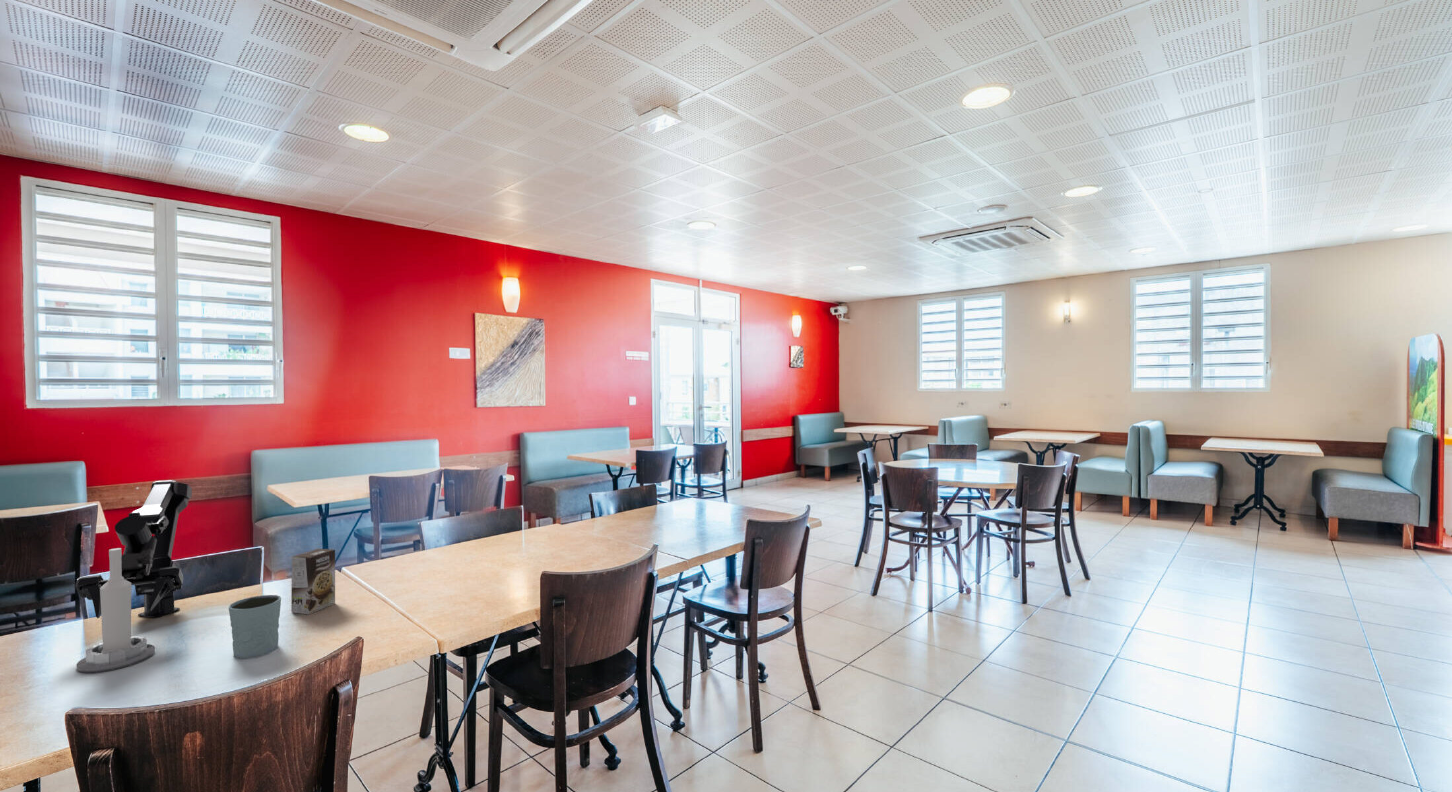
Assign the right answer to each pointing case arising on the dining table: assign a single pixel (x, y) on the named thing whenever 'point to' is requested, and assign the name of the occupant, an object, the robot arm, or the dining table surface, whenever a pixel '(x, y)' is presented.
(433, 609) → the dining table surface
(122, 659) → the grey ring
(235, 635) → the grey-green cup
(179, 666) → the dining table surface
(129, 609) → the bottle
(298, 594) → the coffee box
